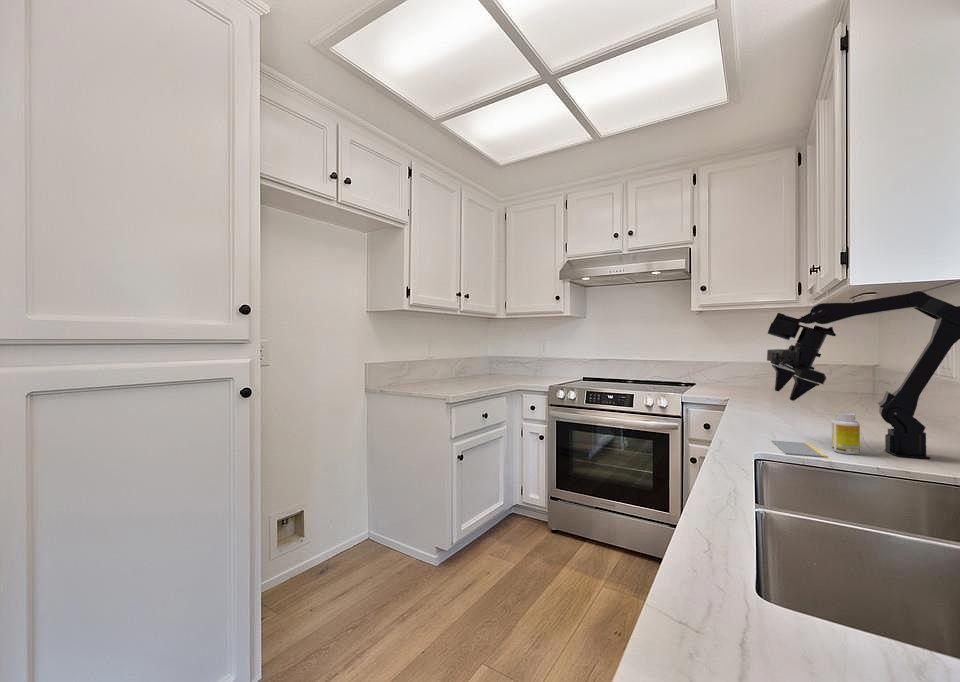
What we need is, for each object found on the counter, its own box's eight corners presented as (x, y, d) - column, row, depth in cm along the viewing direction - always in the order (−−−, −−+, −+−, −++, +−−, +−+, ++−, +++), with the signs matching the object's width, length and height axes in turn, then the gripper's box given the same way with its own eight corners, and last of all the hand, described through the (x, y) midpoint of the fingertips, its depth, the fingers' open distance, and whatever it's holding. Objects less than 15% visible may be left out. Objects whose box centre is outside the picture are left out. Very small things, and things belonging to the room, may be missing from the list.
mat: (808, 444, 120) (808, 442, 120) (827, 457, 106) (827, 455, 106) (771, 441, 123) (771, 440, 123) (785, 454, 109) (785, 452, 109)
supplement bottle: (865, 455, 108) (865, 415, 108) (841, 454, 108) (841, 415, 108) (849, 449, 113) (849, 411, 113) (826, 449, 114) (826, 411, 114)
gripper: (764, 332, 130) (743, 378, 134) (794, 343, 113) (769, 395, 116) (802, 343, 129) (779, 389, 132) (838, 356, 111) (812, 409, 114)
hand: (783, 395), depth 124 cm, fingers open, 9 cm apart
